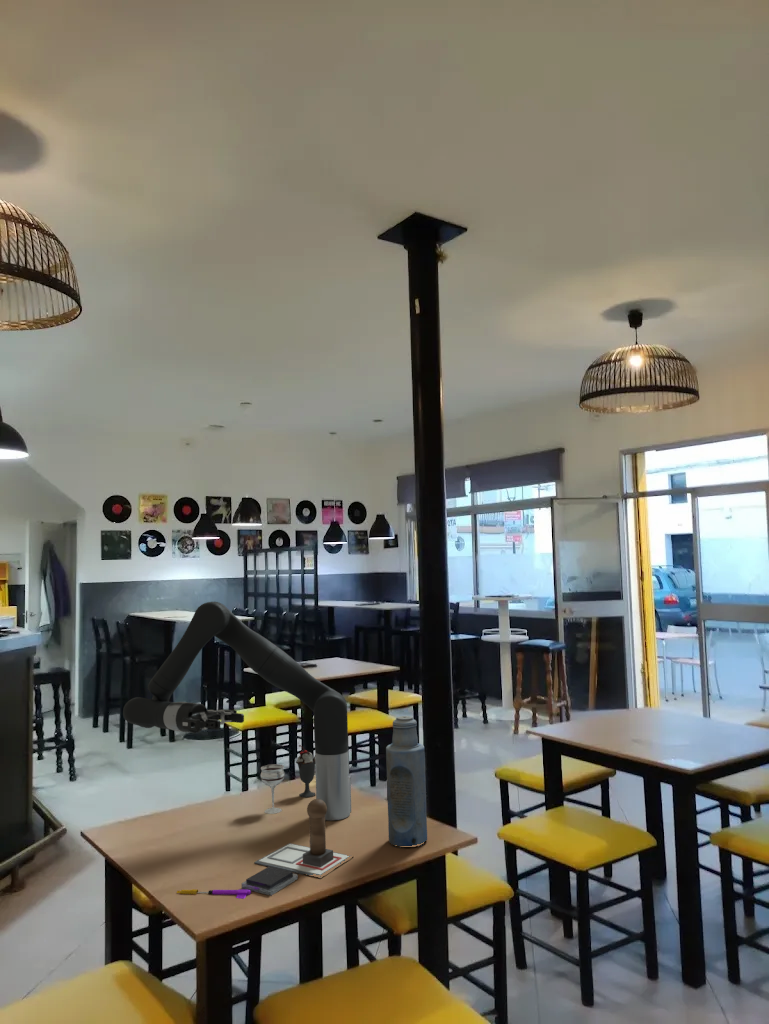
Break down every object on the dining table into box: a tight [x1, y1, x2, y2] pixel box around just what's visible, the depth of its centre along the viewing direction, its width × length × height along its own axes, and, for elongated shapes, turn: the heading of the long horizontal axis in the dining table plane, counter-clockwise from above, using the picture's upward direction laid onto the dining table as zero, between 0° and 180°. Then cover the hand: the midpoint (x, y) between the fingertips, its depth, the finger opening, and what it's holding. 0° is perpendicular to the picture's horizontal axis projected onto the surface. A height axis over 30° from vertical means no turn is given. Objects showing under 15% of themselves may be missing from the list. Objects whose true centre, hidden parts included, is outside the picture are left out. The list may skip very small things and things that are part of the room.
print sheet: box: [254, 842, 351, 877], centre depth 165 cm, size 13×19×1 cm
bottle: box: [385, 715, 428, 846], centre depth 176 cm, size 10×10×30 cm
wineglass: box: [260, 763, 286, 815], centre depth 202 cm, size 7×7×12 cm
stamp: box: [303, 798, 334, 867], centre depth 163 cm, size 5×5×14 cm
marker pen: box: [176, 888, 252, 900], centre depth 148 cm, size 3×1×16 cm
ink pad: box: [241, 866, 298, 896], centre depth 153 cm, size 9×8×2 cm
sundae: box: [295, 744, 316, 798], centre depth 216 cm, size 7×7×15 cm
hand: (231, 721), depth 179 cm, fingers open, 8 cm apart
